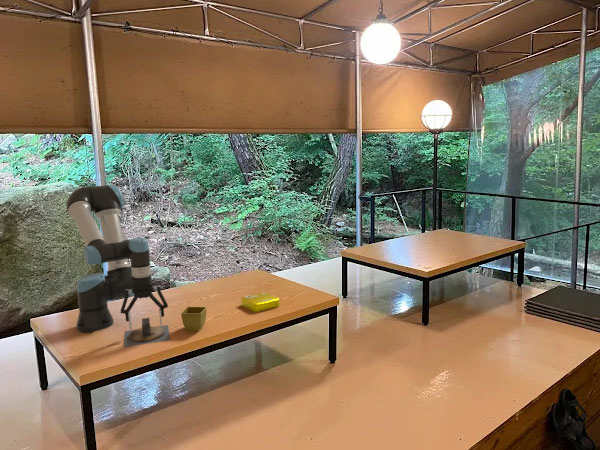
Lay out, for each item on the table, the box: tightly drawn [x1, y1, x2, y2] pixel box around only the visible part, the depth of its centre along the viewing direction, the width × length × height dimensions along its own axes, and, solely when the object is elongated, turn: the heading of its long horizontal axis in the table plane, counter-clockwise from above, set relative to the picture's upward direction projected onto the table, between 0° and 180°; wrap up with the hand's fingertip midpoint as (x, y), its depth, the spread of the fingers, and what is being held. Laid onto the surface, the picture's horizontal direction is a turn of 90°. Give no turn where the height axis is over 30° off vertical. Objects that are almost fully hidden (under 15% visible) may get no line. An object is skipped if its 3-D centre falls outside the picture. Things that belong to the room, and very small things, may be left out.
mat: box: [122, 324, 171, 348], centre depth 200 cm, size 18×18×1 cm
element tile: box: [240, 291, 281, 313], centre depth 234 cm, size 15×15×5 cm
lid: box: [129, 317, 164, 342], centre depth 199 cm, size 14×14×6 cm
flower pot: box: [180, 306, 208, 332], centre depth 205 cm, size 9×9×9 cm
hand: (146, 326), depth 199 cm, fingers open, 11 cm apart
